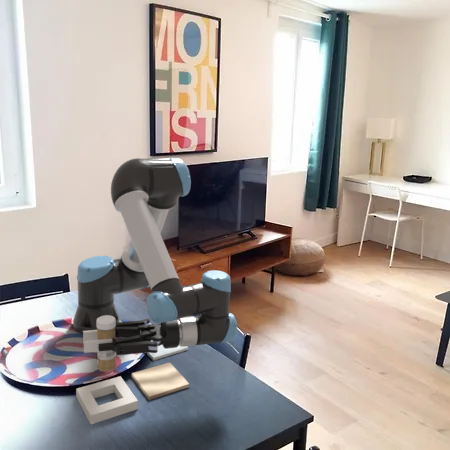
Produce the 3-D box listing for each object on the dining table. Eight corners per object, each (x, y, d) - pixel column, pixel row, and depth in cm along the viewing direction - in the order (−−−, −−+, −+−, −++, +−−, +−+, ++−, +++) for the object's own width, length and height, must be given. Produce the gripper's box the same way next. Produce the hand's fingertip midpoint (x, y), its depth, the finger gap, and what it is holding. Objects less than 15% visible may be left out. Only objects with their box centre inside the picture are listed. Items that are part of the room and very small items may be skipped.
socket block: (76, 397, 120) (76, 388, 119) (120, 384, 126) (120, 376, 126) (90, 424, 110) (90, 415, 110) (137, 409, 117) (137, 400, 116)
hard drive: (153, 357, 138) (188, 346, 146) (141, 345, 145) (175, 335, 152) (153, 362, 139) (188, 351, 146) (141, 350, 145) (175, 339, 152)
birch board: (131, 376, 130) (131, 373, 130) (169, 365, 137) (169, 362, 136) (149, 399, 121) (149, 396, 120) (189, 386, 127) (189, 383, 127)
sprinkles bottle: (113, 360, 119) (113, 313, 115) (117, 370, 115) (117, 321, 111) (95, 364, 117) (94, 316, 113) (98, 374, 113) (98, 324, 109)
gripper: (184, 363, 112) (84, 375, 105) (170, 329, 128) (82, 337, 121) (186, 335, 110) (84, 346, 103) (171, 304, 126) (82, 311, 119)
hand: (83, 341), depth 112 cm, fingers closed on sprinkles bottle, 4 cm apart
